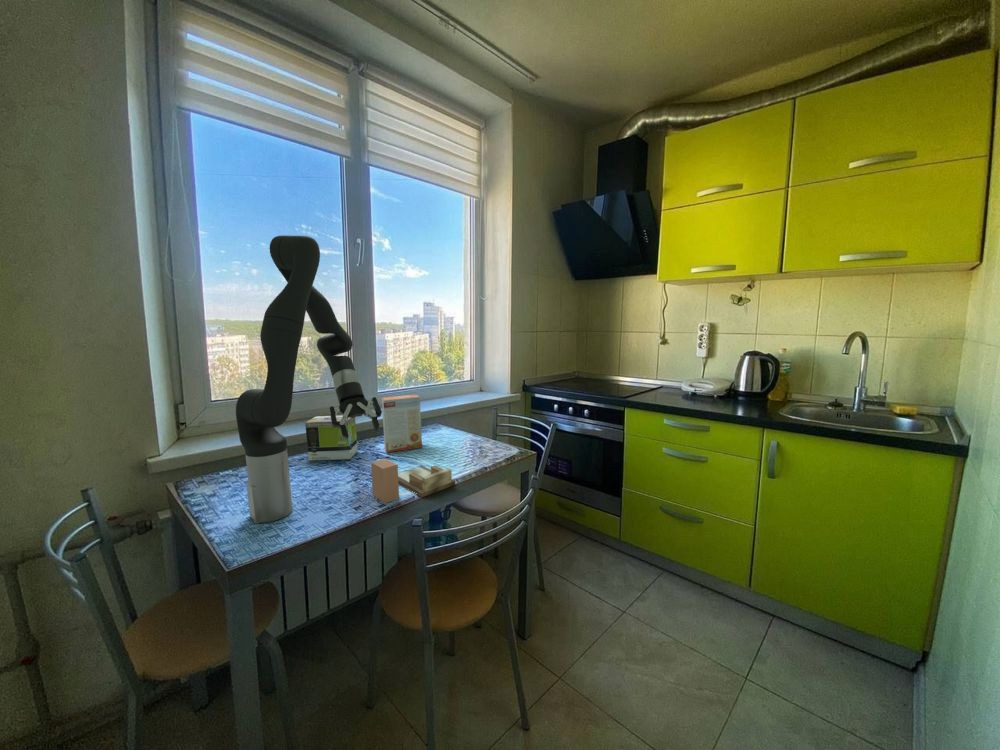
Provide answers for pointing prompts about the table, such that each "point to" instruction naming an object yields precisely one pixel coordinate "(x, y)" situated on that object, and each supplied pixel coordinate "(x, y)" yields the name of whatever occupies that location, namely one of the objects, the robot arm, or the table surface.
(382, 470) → the tall tan block
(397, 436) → the cracker box
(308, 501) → the table surface
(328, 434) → the tea box
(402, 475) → the board
